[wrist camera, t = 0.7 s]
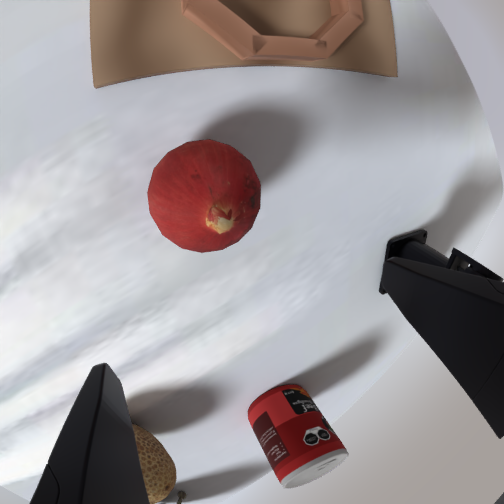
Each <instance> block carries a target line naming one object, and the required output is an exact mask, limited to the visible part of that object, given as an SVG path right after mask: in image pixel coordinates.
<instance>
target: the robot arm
mask: <svg viewBox="0 0 504 504" xmlns="http://www.w3.org/2000/svg"><path fill="white" fill-rule="evenodd" d="M426 238H427V231H425V230H420V231H418V232H415V233H412V234H409V235H406V236H402V237H399V238H396V239H393V240H391V241H389V242H388V244H387V249H386V255H385V261H384V264H383V272H382V278H381V283H380V288H379V292H380V293H381V294H385V293H388V294H389V296H390V297H391V298H392V300H393V301H394V303H395V304H396V305H397V307H398V308H399V310H400V311H401V312H402V314H403V315H404V316H405V318H406V319H407V320H408V322H409V323H410V324H411V325H412V326H413V328H414V329H415V330H416V331H417V332H418V333H419V334H420V336H421V337H422V338H423V339H424V340H425V342H426V343H427V344H428V345H429V346H430V348H431V349H432V350H433V351H434V352H435V354H436V355H437V356H438V357H439V358H440V360H441V361H442V362H443V364H444V365H445V366H446V367H447V369H448V370H449V371H450V372H451V374H452V375H453V376H454V378H455V379H456V380H457V381H458V383H459V384H460V385H461V386H462V388H463V389H464V390H465V392H466V393H467V394H468V396H469V397H470V398H471V400H472V401H473V403H474V404H475V406H476V407H477V408H478V410H479V411H480V412H481V414H482V415H483V416H484V418H485V419H486V421H487V422H488V424H489V425H490V427H491V428H492V429H493V431H494V432H495V434H496V435H497V436H498V438H499V439H501V438H502V437H503V436H504V282H502V281H503V278H501V277H500V276H498V275H497V274H495V273H494V272H492V271H491V270H489V269H487V268H486V267H485V266H483V265H482V264H480V263H478V262H477V261H475V260H474V259H472V258H470V257H469V256H467V255H466V254H464V253H462V252H461V251H459V250H457V249H456V248H454V247H453V250H452V254H451V256H450V258H447V257H446V256H444V255H442V254H441V253H439V252H438V251H436V250H434V249H433V248H431V247H429V246H428V245H426V244H425V243H426ZM469 264H470V267H468V265H469ZM30 504H150V502H149V498H148V494H147V490H146V486H145V482H144V478H143V474H142V469H141V465H140V460H139V455H138V450H137V445H136V439H135V434H134V430H133V426H132V422H131V419H130V415H129V411H128V408H127V404H126V400H125V396H124V391H123V387H122V384H121V382H120V380H119V378H118V377H117V376H116V374H115V373H114V372H113V370H112V369H111V368H110V366H109V365H108V364H107V363H102V364H98V365H95V366H93V368H92V369H91V371H90V373H89V375H88V377H87V379H86V381H85V383H84V385H83V386H82V388H81V390H80V392H79V394H78V396H77V398H76V400H75V402H74V404H73V406H72V409H71V411H70V413H69V415H68V417H67V419H66V421H65V423H64V425H63V428H62V430H61V432H60V434H59V436H58V439H57V441H56V443H55V445H54V448H53V450H52V452H51V455H50V457H49V460H48V464H46V467H45V469H44V472H43V474H42V476H41V479H40V481H39V484H38V486H37V488H36V491H35V493H34V495H33V497H32V499H31V501H30ZM495 504H504V493H503V494H502V495H501V496H500V498H499V499H498V500H497V501H496V502H495Z"/></svg>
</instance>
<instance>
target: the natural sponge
mask: <svg viewBox="0 0 504 504" xmlns="http://www.w3.org/2000/svg"><path fill="white" fill-rule="evenodd" d="M132 426H133V430H134V434H135V439H136V445H137V450H138V455H139V460H140V465H141V469H142V474H143V478H144V482H145V486H146V490H147V494H148V498H149V502H150V504H155V503H157V502H160V501H161V500H163V499H165V498H166V497H167V496H168V495H169V493H170V492H171V491H172V489H173V488H174V486H175V483H176V467H175V464H174V462H173V460H172V458H171V457H170V455H169V454H168V453H167V451H166V450H165V448H164V447H163V445H162V444H161V443H160V442H159V441H158V440H157V439H156V438H155V437H154V436H153V435H152V434H151V433H150V432H148V431H146V430H145V429H143V428H141V427H139V426H137V425H135V424H132Z"/></svg>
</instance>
